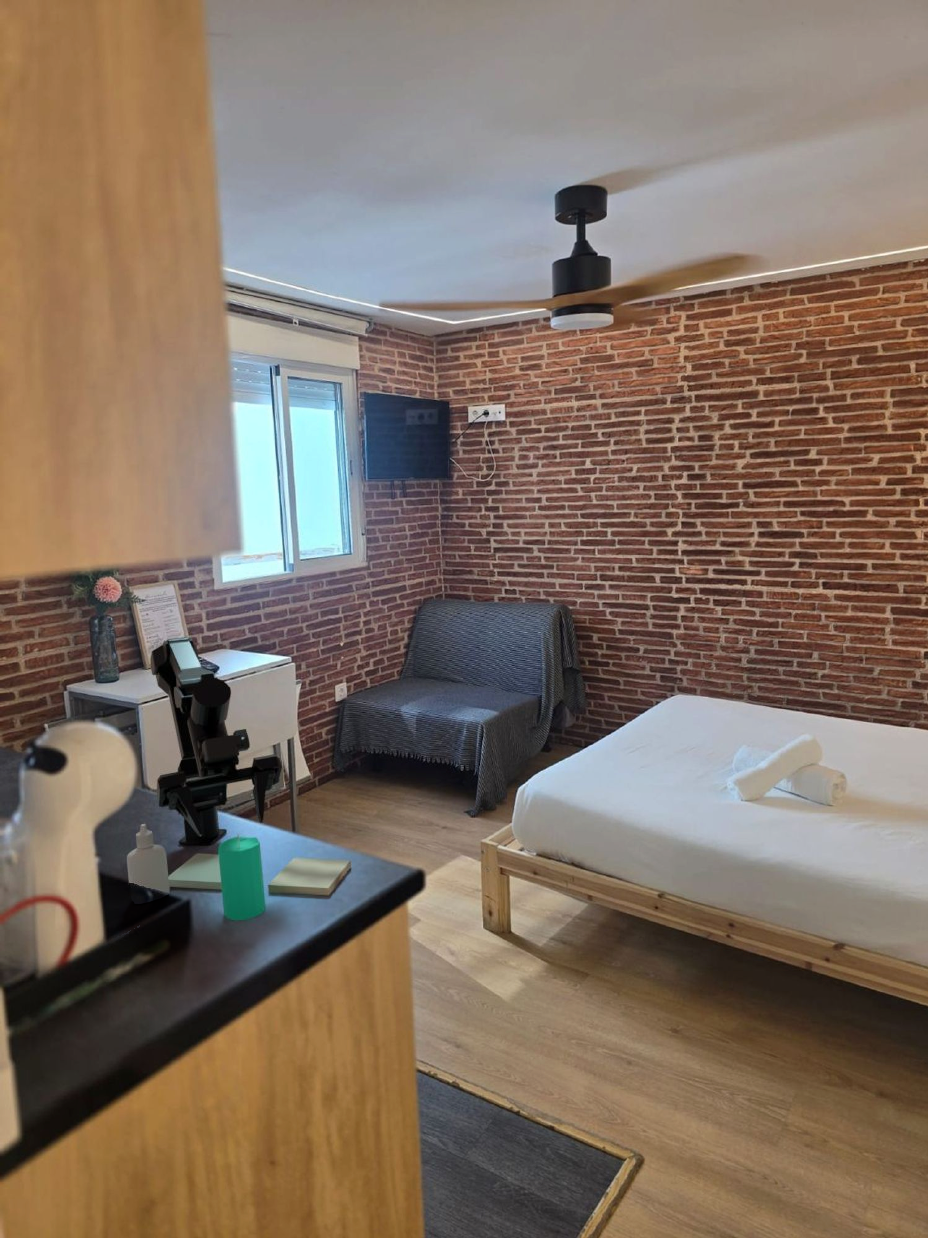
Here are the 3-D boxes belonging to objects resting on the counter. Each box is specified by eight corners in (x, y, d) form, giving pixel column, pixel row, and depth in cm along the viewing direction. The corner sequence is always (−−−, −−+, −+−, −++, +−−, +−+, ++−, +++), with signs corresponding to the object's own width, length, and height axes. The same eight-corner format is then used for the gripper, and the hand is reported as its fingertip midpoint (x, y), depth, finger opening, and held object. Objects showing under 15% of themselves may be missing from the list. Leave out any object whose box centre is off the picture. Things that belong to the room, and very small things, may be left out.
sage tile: (197, 860, 142) (196, 853, 142) (250, 862, 140) (250, 856, 139) (165, 886, 132) (164, 879, 132) (221, 889, 130) (221, 882, 130)
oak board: (294, 864, 138) (294, 858, 138) (350, 867, 136) (350, 860, 136) (268, 892, 128) (268, 885, 128) (328, 895, 126) (328, 888, 126)
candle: (254, 921, 119) (247, 842, 118) (216, 919, 120) (209, 841, 119) (272, 902, 125) (265, 826, 123) (235, 900, 126) (229, 825, 125)
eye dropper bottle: (136, 893, 130) (128, 821, 128) (172, 890, 131) (165, 818, 129) (128, 906, 126) (119, 831, 124) (165, 903, 126) (158, 828, 125)
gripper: (151, 724, 123) (170, 816, 115) (274, 705, 132) (299, 790, 124) (149, 762, 131) (166, 851, 123) (265, 742, 140) (288, 824, 132)
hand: (231, 828), depth 125 cm, fingers open, 9 cm apart
